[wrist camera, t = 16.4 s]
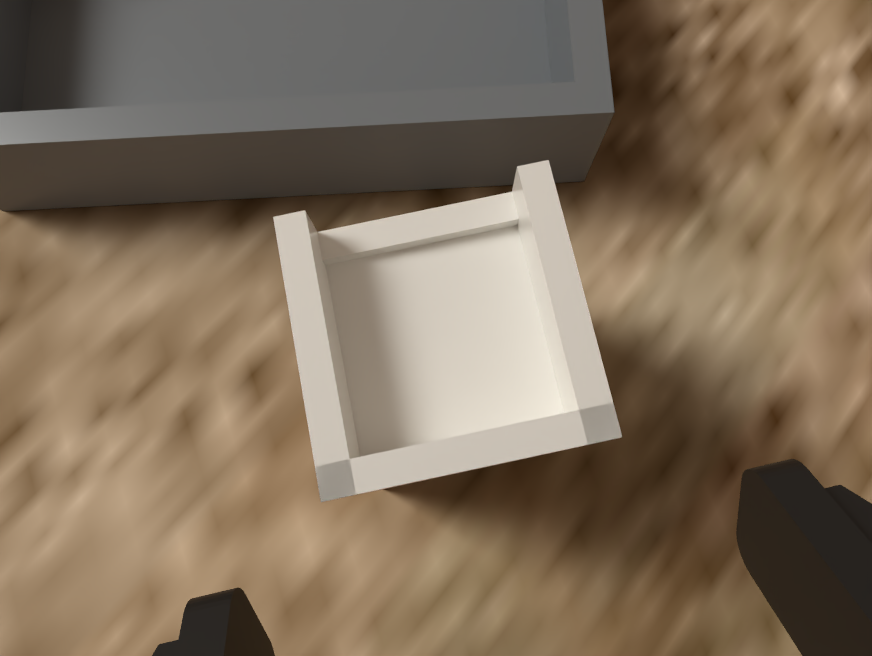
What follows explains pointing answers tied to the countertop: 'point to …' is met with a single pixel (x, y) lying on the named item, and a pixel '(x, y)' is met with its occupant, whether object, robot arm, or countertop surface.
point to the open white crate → (443, 339)
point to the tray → (292, 97)
